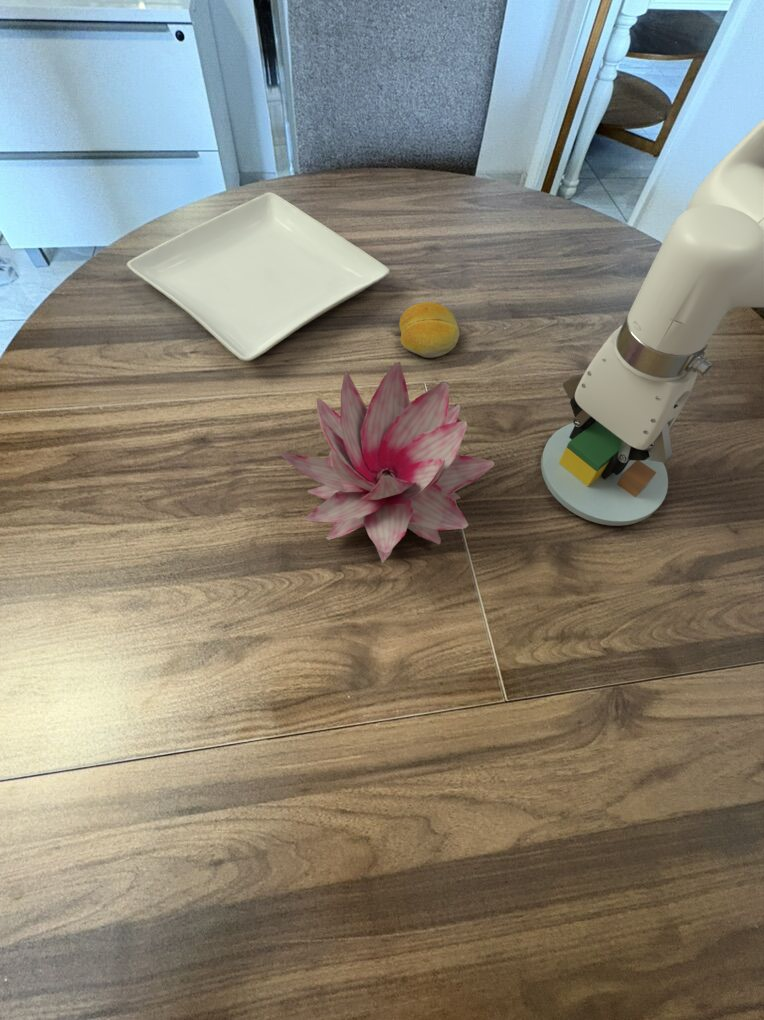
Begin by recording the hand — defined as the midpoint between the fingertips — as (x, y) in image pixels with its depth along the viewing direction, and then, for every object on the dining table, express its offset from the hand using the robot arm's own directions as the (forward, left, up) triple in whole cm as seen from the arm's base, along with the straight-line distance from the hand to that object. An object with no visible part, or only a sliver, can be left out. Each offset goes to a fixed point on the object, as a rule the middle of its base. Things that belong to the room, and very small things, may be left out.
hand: (593, 457), depth 74 cm
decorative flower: (+23, -12, -2) cm, 26 cm away
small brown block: (-1, +5, 0) cm, 5 cm away
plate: (0, +2, -2) cm, 3 cm away
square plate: (+12, -52, -2) cm, 54 cm away
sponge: (0, 0, 0) cm, 0 cm away
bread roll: (0, -29, -2) cm, 29 cm away
